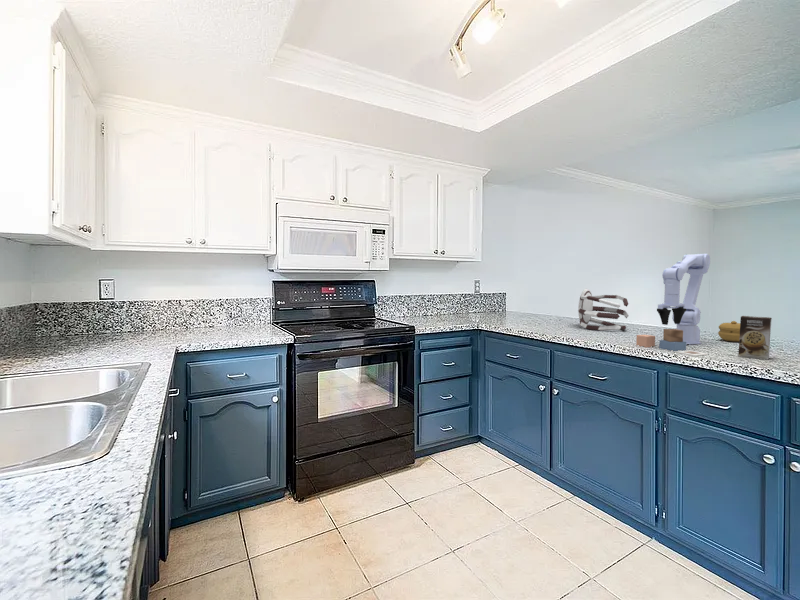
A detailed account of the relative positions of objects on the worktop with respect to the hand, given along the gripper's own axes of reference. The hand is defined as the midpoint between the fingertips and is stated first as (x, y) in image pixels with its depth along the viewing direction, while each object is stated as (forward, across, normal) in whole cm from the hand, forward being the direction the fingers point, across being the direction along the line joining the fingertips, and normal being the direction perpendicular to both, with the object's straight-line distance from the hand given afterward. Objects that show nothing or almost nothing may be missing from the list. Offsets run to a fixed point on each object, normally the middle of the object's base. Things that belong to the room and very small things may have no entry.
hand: (671, 324), depth 182 cm
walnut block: (+7, +5, +5) cm, 10 cm away
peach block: (+10, +9, -5) cm, 15 cm away
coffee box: (+11, -9, +28) cm, 31 cm away
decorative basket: (+11, -19, -59) cm, 63 cm away
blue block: (+11, +5, +5) cm, 13 cm away
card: (+10, +7, +15) cm, 19 cm away
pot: (+11, -42, 0) cm, 43 cm away
